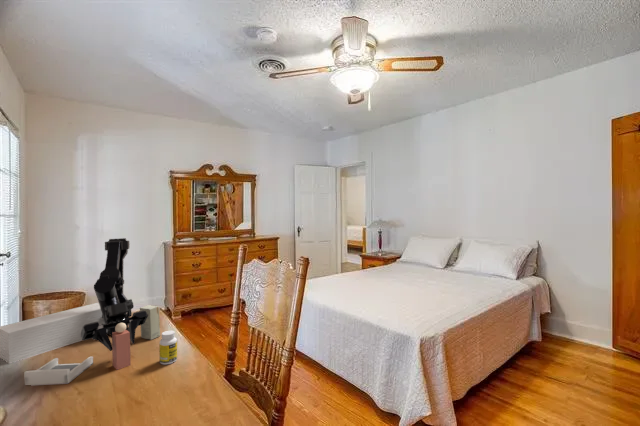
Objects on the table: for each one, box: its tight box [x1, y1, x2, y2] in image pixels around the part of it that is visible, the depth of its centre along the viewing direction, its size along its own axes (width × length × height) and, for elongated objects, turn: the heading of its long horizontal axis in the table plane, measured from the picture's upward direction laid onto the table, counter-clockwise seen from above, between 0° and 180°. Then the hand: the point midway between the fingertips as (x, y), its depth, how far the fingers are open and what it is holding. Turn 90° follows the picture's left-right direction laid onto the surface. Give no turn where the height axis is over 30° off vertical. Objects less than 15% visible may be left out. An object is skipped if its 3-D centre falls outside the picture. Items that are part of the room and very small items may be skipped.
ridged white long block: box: [0, 302, 105, 364], centre depth 124 cm, size 32×11×11 cm, turn 150°
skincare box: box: [139, 304, 161, 340], centre depth 129 cm, size 6×4×12 cm
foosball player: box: [111, 323, 132, 370], centre depth 106 cm, size 4×4×14 cm
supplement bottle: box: [158, 330, 178, 365], centre depth 109 cm, size 5×5×10 cm
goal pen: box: [23, 356, 94, 386], centre depth 101 cm, size 12×12×4 cm
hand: (122, 346), depth 105 cm, fingers open, 6 cm apart
